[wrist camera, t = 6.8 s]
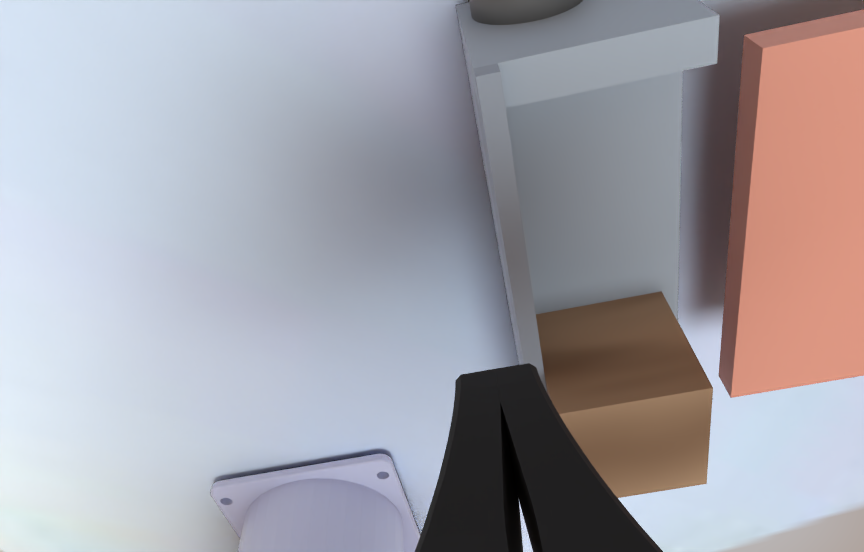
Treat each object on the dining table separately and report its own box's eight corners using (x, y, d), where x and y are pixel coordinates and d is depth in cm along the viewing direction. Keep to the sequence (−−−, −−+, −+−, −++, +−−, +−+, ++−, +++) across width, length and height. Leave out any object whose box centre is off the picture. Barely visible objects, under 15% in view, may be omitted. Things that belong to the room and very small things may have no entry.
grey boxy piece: (649, 371, 26) (701, 490, 22) (523, 393, 27) (549, 514, 22) (643, -89, 17) (734, -45, 12) (447, -43, 17) (465, 15, 13)
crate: (661, 383, 22) (706, 483, 19) (543, 403, 23) (567, 505, 19) (661, 291, 20) (712, 387, 17) (529, 315, 20) (555, 414, 17)
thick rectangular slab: (716, 371, 22) (901, 339, 22) (730, 397, 21) (925, 365, 21) (740, 32, 16) (1007, -25, 15) (762, 48, 15) (1049, -13, 14)
